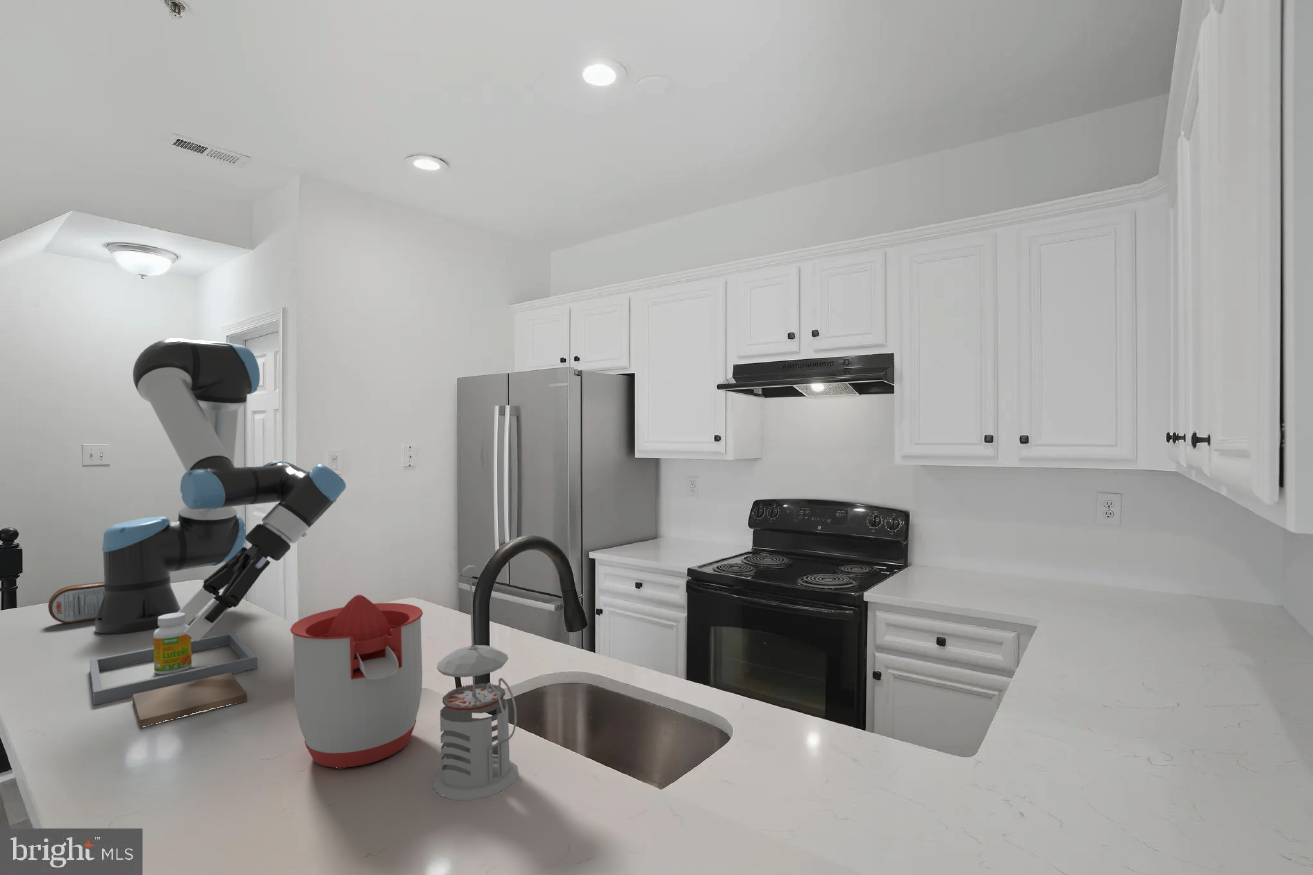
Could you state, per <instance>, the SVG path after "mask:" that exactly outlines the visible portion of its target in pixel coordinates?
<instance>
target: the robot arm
mask: <svg viewBox="0 0 1313 875" xmlns="http://www.w3.org/2000/svg"><path fill="white" fill-rule="evenodd" d="M132 379H133V384H134V386H135V389H136V391H137V392H138V394H139V396H140V397H141V398H142V399H143V400H145V401H147V402H148V403H149V404H150V405H151V407H152V409H153V411H154V412H155V415H156V416H157V418H158V420H159V422H160V424H161V426H162V428H163V429H164V432H165V433H166V435H167V438H168V440H169V441H170V443H171V446H172V447H173V449H174V450H175V453H176V455H177V456H178V458H179V460H180V462H181V464H182V466H183V468H184V470H185V471H186V472H185V473H184V474H183V475H182V477H181V480H180V485H179V486H180V488H179V490H180V494H181V499H182V502H183V504H184V506H183V507H181V508H180V509H179V510H178V517H177V518H178V519H177V520H173V521H172V520H171V521H170V519H169V517H168V516H165V515H163V516H162V515H160V516H159V515H158V516H152V517H143V518H137V519H132V520H131V519H130V520H127V521H123V522H120V523H116V524H113V525H111V526H109V527H108V528H106V530H105V531H104V533H103V542H102V548H101V549H102V550H101V551H102V554H103V582H104V584H105V594H104V598H103V600H102V603H101V606H100V609H99V611H98V614H97V617H96V620H94V632H96V633H99V634H124V633H134V632H138V631H145V630H151V629H155V628H160V626H158V617H159V616H162V615H165V614H170V613H185V615H186V621H185V622H184V624H186V625H189V624H190V625H189V627H188V628H187V629H186V630H185V631H184V633H186V634H187V635H189V636H190V637H191V639H193V640H197V641H199V640H200V639H202V638H203V637H204V636H205V635H206V634H207V633H208V631H209V630H211V628H212V627H213V626H214V625H216V623H217V622H218V621H219V620H220V619H221V618H222V616H224V614H226V613H227V612H228V610H230V609H231V608H236V607H238V606H239V605H240V603H241V601H242V600H243V599H244V597H245V596H246V595H247V593H248V592H249V591H250V590H251V588H252V586H253V585H254V584H255V583H256V581H257V580H258V579H259V577H260V576H261V575H262V573H263V572H264V571H265V570H266V569H267V567H269V565H270V564H271V561H270V560H268V558H269V559H272V560H273V561H275V562H276V561H280V560H281V559H282V558H283V557H284V556H285V555H286V554H287V552H289V551H290V549H291V544H296V543H297V542H298V541H299V540H300V538H305V537H306V536H307V534H308V533H307V531H308V530H309V529H310V527H312V526H313V525H314V524H315V523H316V522H317V521H318V520H319V519H320V517H322V516H323V514H324V513H325V512H326V511H328V509H329V508H331V506H332V505H333V504H334V503H336V502H337V500H338V498H339V497H340V496H341V495H342V493H343V492H344V491H345V490H346V488H347V484H346V482H345V480H344V479H343V478H342V477H341V476H340V475H339V474H338V473H337V472H335V470H333V469H331V468H330V467H329V466H326V465H324V464H321V463H320V464H316V465H315V466H313V467H312V468H311V469H309V470H308V471H307V470H305V469H303V468H301V467H298V466H297V465H295V464H294V463H290V462H288V461H281V460H273V461H270V462H268V463H265V464H263V465H262V466H243V467H237V466H235V454H236V453H235V452H236V441H237V440H236V439H237V431H238V430H237V428H238V416H239V409H240V408H242V407H243V406H244V405H246V404H247V400H248V395H251V394H254V393H255V392H256V391H257V390H258V387H259V385H260V382H261V380H260V379H261V373H260V366H259V363H258V360H257V359H256V357H255V354H254V353H253V351H252V350H251V349H250V348H248V347H247V346H245V345H242V344H236V343H230V342H223V341H222V342H221V341H212V340H211V341H210V340H209V341H208V340H195V339H186V338H177V337H176V338H166V339H162V340H158V341H157V342H154V343H152V344H150V345H148V346H147V347H146V348H145V349H143V351H142V352H140V354H139V355H138V357H137V359H136V360H135V361H134V365H133V369H132ZM270 503H277V504H275V505H274V506H273V507H272V508H271V510H269V512H267V514H265V516H264V517H262V519H261V522H262V523H258V524H256V525H255V526H254V527H253V528H252V529H250V531H249V532H248V533H247V530H246V528H245V527H246V524H245V521H244V519H243V517H242V516H240V515H239V514H238V511H237V509H236V508H235V507H239V506H246V505H247V506H248V505H261V504H270ZM246 541H247V542H248V543H249V544H251V546H250V547H249V548H247V547H246V546H245V543H246ZM220 564H223V565H221V566H220V567H219V568H218V569H216V571H214V572H213V573H211V575H210V576H208V577H207V578H205V579H204V580H203V582H202V583H203V584H202V587H200V589H199V590H198V591H196V593H195V594H194V595H193V596H192V597H191V598H190V599H189V600H188V601H187V602H186V603H185V604H183V606H182V607H181V606H180V604H179V601H178V598H177V596H176V595H175V592H174V590H173V588H172V585H171V573H172V572H177V571H179V572H180V571H184V570H190V569H197V568H203V567H204V568H205V567H210V566H211V567H212V566H219V565H220ZM223 588H224V589H223ZM220 590H222V593H221V592H220ZM211 601H212V602H211ZM210 602H211V603H210ZM209 603H210V604H209ZM206 606H207V607H206ZM205 607H206V608H205ZM204 608H205V609H204ZM202 610H203V611H202ZM201 611H202V612H201ZM199 613H200V614H199ZM197 615H198V616H197ZM195 617H196V619H195ZM192 620H193V622H191V621H192ZM190 622H191V623H190Z"/></svg>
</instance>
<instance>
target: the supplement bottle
mask: <svg viewBox="0 0 1313 875" xmlns="http://www.w3.org/2000/svg"><path fill="white" fill-rule="evenodd" d="M185 621H186V615H185V613H170V614H165V615H162V616H159V617H158V626H160V627H158V628H157V629H155V630H154V632H153V635H152V636H153V637H152V638H153V648H154V660H153V666H154V667H153V670H154V673H155V674H156V675H160V676H164V675H168V674H173V673H178V672H182V671H187V670H189V669H190V668H191V667H192V661H193V660H192V652H191V640H192V637H190V636H189V635H187V634H186V633H184V631H185V630H186V629H187V628H188V627H189V626H190V625H189V624H188V625H186V624H184V622H185Z"/></svg>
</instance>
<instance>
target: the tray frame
mask: <svg viewBox="0 0 1313 875" xmlns="http://www.w3.org/2000/svg"><path fill="white" fill-rule="evenodd" d="M223 645H225V646H230V648H232V649H233V651H234V652H235V653H236V654H237V656H238V657H239V658H240V659H239V658H238V659H235V660H230V661H226V662H225V661H224V662H220V663H216V664H211V665H206V666H202V667H197V668H194V669H193V668H192V669H186V670H184V671H181V672H178V673H173V674H165V675H160V676H156V677H155V676H154V677H150V678H146V679H141V680H136V681H133V682H132V681H131V682H127V683H123V684H117V685H112V686H108V687H104V688H103V687H102V680H101V674H100V671H105V670H109V669H115V668H121V667H124V665H125V666H130V665H134V663H135V664H140V663H144V662H149V661H154V647H149V648H145V649H141V650H134V651H129V652H125V653H119V654H114V655H109V656H108V655H107V656H103V657H97V658H93V659H89V674H90V681H91V691H92V696H93V697H92V698H93V705H94V706H97V705H100V704H101V705H102V704H105V703H111V702H113V701H119V700H123V699H128V698H133V694H137V693H142V692H146V691H151V690H155V689H159V688H164V687H168V686H173V685H177V684H182V683H186V682H191V681H195V680H200V679H204V678H209V677H213V676H217V675H222V674H226V673H231V674H232V675H234V674H239V673H242V672H246V670H248V671H251V669H252V670H256V669H258V657H257V655H256V654H255V653H254V651H252V650H251V649H250V648H249V647H248V645H246V643H244V642H243V640H242V639H241V638H240V636H238V635H237V634H236V633H235V632H229V633H224V634H219V635H214V636H209V637H208V636H207V637H204V638H203V637H202V638H201V639H200V640H199V641H197V640H195V639H191V653H194V652H199V651H204V649H205V650H209V649H214V648H213V647H215V648H219V647H218V646H220V647H224V646H223ZM114 667H115V668H114ZM238 672H239V673H238Z"/></svg>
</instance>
